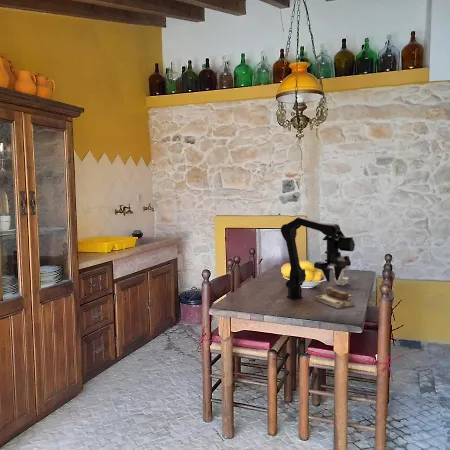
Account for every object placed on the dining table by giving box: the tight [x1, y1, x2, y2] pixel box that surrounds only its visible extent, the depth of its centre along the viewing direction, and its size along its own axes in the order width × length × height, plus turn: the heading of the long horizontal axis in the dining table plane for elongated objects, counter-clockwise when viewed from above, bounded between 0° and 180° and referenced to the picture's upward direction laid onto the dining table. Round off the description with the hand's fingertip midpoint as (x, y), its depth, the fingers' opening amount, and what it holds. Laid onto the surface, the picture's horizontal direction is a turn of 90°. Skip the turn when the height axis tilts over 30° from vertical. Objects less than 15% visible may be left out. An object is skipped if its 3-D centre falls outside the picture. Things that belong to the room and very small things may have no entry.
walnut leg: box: [325, 286, 350, 300], centre depth 223 cm, size 14×4×3 cm, turn 25°
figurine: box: [332, 265, 351, 286], centre depth 257 cm, size 7×9×15 cm
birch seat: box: [315, 293, 354, 309], centre depth 221 cm, size 10×17×2 cm, turn 25°
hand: (332, 280), depth 216 cm, fingers open, 5 cm apart
